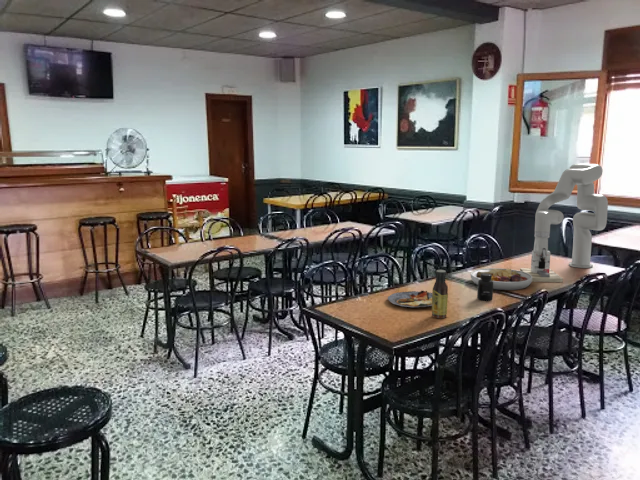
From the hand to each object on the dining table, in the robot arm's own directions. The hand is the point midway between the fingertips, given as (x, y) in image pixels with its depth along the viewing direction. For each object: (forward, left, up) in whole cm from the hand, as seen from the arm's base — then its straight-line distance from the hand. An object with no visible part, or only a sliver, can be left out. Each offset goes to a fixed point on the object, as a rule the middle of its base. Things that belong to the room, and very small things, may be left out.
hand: (540, 267), depth 276 cm
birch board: (+2, 0, -5) cm, 5 cm away
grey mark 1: (+4, 0, -3) cm, 5 cm away
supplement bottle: (+48, -37, -5) cm, 61 cm away
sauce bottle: (+75, -60, -5) cm, 96 cm away
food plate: (+55, -69, -5) cm, 88 cm away
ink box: (0, 0, -3) cm, 3 cm away
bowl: (+18, -24, -6) cm, 30 cm away
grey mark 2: (+9, 0, -3) cm, 9 cm away
